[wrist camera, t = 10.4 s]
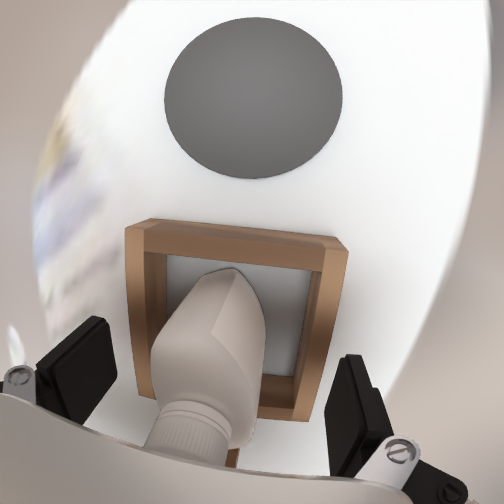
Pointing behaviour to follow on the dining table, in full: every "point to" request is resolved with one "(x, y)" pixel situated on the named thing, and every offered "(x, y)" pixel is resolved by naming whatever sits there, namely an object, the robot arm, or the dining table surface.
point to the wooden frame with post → (242, 251)
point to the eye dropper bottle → (209, 370)
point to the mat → (253, 98)
